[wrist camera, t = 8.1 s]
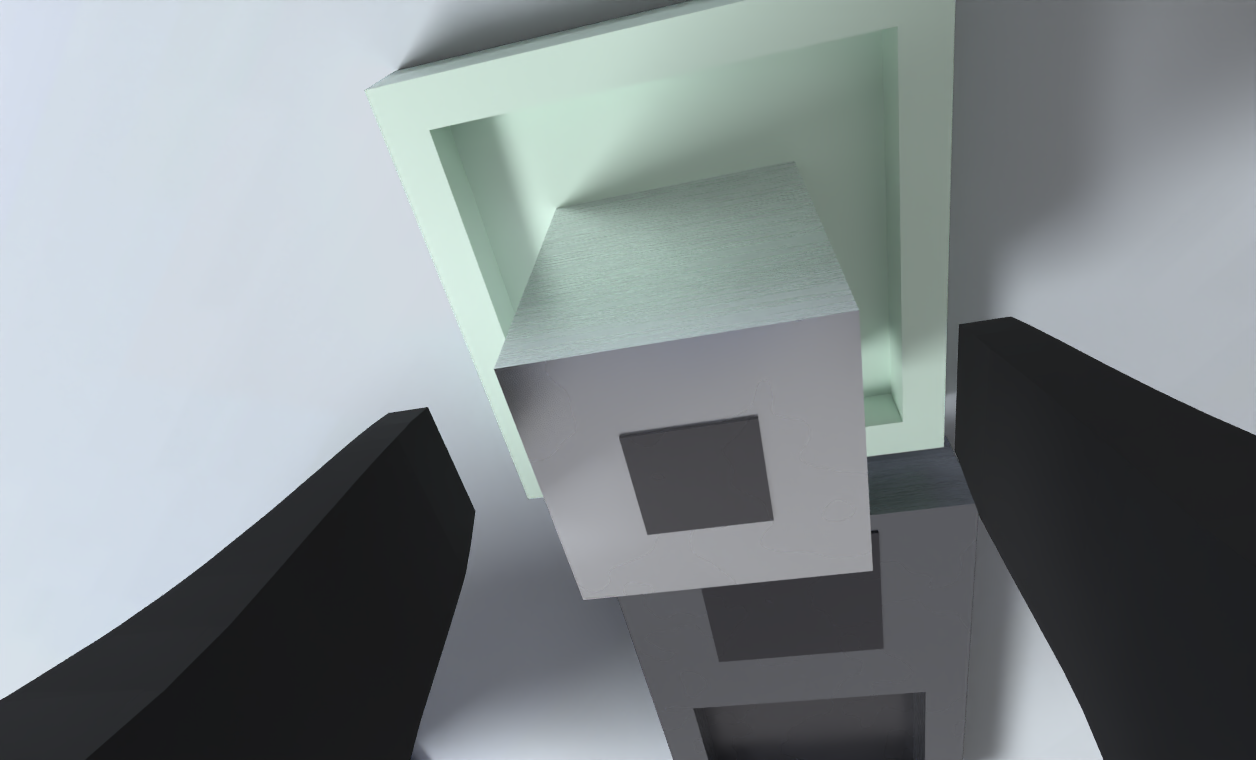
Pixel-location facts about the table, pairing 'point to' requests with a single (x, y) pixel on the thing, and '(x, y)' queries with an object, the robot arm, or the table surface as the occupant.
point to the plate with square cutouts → (829, 639)
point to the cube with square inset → (694, 388)
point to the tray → (699, 162)
